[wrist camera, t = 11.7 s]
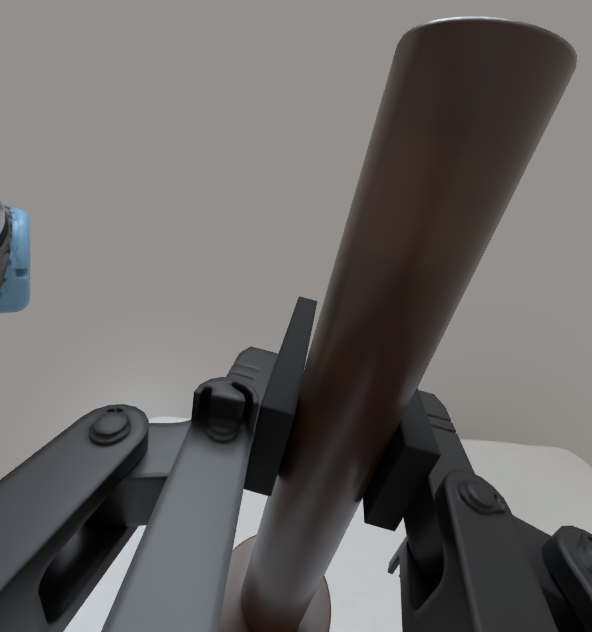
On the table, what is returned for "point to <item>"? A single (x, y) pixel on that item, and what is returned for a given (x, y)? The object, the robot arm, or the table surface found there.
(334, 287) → the muddler
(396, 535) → the table surface
